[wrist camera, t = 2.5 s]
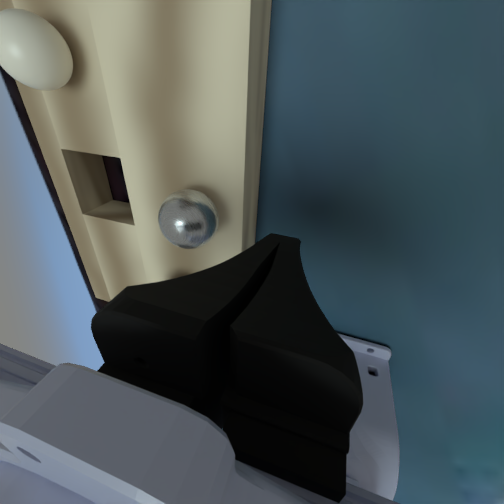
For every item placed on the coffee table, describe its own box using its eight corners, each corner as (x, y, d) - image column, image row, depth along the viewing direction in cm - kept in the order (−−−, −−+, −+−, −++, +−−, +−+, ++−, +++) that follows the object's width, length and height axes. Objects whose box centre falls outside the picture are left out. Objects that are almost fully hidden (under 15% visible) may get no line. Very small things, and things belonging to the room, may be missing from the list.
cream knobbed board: (274, -45, 11) (253, -82, 9) (249, 315, 23) (238, 341, 21) (30, -32, 14) (-35, -56, 12) (119, 278, 26) (95, 297, 24)
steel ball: (228, 186, 14) (200, 208, 12) (227, 237, 16) (204, 266, 13) (175, 177, 15) (139, 196, 12) (181, 227, 17) (150, 252, 14)
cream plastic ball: (76, 16, 12) (8, -1, 10) (94, 92, 14) (39, 93, 11) (28, 16, 13) (-47, -1, 10) (50, 88, 14) (-10, 88, 12)
